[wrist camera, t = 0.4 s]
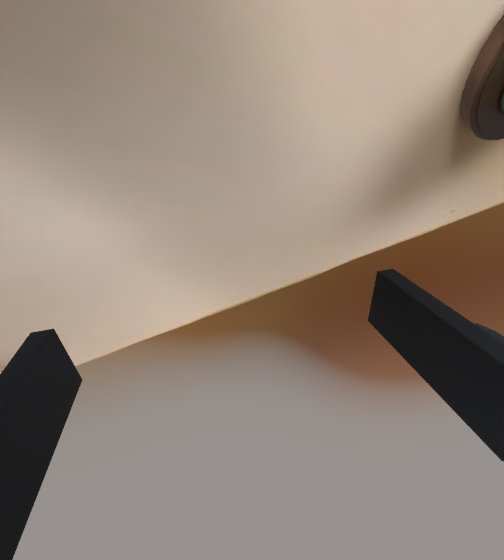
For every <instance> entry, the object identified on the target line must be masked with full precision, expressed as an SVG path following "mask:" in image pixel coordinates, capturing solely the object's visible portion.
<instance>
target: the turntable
mask: <svg viewBox="0 0 504 560" xmlns="http://www.w3.org/2000/svg"><path fill="white" fill-rule="evenodd" d="M503 91H504V16H503V17H502V19H501V20H500V22H499V23H498V25H497V26H496V28H495V29H494V30H493V32H492V34H491V35H490V37H489V39H488V40H487V42H486V44H485V45H484V47H483V48H482V50H481V52H480V54H479V56H478V58H477V60H476V62H475V64H474V65H473V68H472V70H471V72H470V75H469V77H468V79H467V82H466V85H465V88H464V92H463V96H462V101H461V116H462V120H463V122H464V124H465V126H466V127H467V128H468V129H469V130H470V131H472V132H473V133H474V134H475V135H476V136H477V137H479V138H481V139H485V140H500V139H504V115H503V113H502V110H501V99H502V95H503Z"/></svg>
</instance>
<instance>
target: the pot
mask: <svg viewBox="0 0 504 560" xmlns="http://www.w3.org/2000/svg"><path fill="white" fill-rule="evenodd" d="M501 110H502V113H503V115H504V91H503V95H502V99H501Z"/></svg>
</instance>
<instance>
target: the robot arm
mask: <svg viewBox="0 0 504 560" xmlns="http://www.w3.org/2000/svg"><path fill="white" fill-rule="evenodd" d="M368 321H369V322H370V323H371V324H372V325H373V326H374V327H375V328H376V329H377V331H378V332H379V333H380V334H381V335H382V336H383V337H384V338H385V339H386V340H387V341H388V342H389V343H390V344H391V345H392V346H393V347H394V348H395V349H396V351H397V352H398V353H399V354H400V355H401V356H402V357H403V358H404V359H405V360H406V361H407V362H408V363H409V364H410V365H411V366H412V367H413V368H414V369H415V370H416V371H417V372H418V374H419V375H420V376H421V377H422V378H423V379H424V380H425V381H426V382H427V383H428V384H429V385H430V386H431V387H432V388H433V389H434V390H435V391H436V392H437V393H438V395H440V396H441V398H442V399H443V400H444V401H445V402H446V403H447V404H448V405H449V406H450V407H451V408H452V409H453V410H454V411H455V412H456V413H457V414H458V415H459V416H460V417H461V419H462V420H463V421H464V422H465V423H466V424H467V425H468V426H469V427H470V428H471V429H472V430H473V431H474V432H475V433H476V434H477V435H478V436H479V437H480V439H482V441H483V442H484V443H485V444H486V445H487V446H488V447H489V448H490V449H491V450H492V451H493V452H494V453H495V454H496V455H497V456H498V457H499V458H500V459H501V461H504V337H503V336H502V335H500V334H499V333H497V332H496V331H494V330H491V329H489V328H487V327H484V326H482V325H479V324H473V323H472V322H470V321H469V320H467V319H466V318H465V317H463V316H462V315H460V314H459V313H457V312H456V311H454V310H453V309H451V308H450V307H448V306H447V305H445V304H444V303H442V302H441V301H440V300H438V299H437V298H435V297H434V296H432V295H431V294H429V293H428V292H426V291H425V290H423V289H422V288H420V287H419V286H417V285H416V284H415V283H413V282H412V281H410V280H408V279H407V278H406V277H404V276H403V275H401V274H400V273H398V272H397V271H395V270H394V269H389V270H383V271H378V272H377V276H376V281H375V287H374V291H373V297H372V302H371V307H370V312H369V318H368ZM81 382H82V379H81V377H80V375H79V373H78V371H77V370H76V368H75V366H74V364H73V362H72V360H71V359H70V357H69V355H68V353H67V351H66V350H65V348H64V346H63V344H62V343H61V341H60V339H59V337H58V335H57V334H56V332H55V330H54V329H50V330H44V331H38V332H33V333H30V335H29V336H28V337H27V339H26V340H25V341H24V343H23V344H22V346H21V347H20V348H19V350H18V351H17V352H16V354H15V355H14V357H13V358H12V359H11V361H10V362H9V363H8V365H7V366H6V368H5V369H4V370H3V372H2V373H1V374H0V560H12V559H13V556H14V554H15V551H16V548H17V546H18V543H19V541H20V538H21V536H22V533H23V531H24V528H25V525H26V523H27V520H28V517H29V515H30V512H31V510H32V507H33V505H34V502H35V500H36V497H37V495H38V492H39V489H40V487H41V484H42V482H43V479H44V477H45V474H46V471H47V469H48V466H49V464H50V461H51V459H52V456H53V453H54V451H55V448H56V446H57V443H58V441H59V438H60V435H61V433H62V430H63V428H64V425H65V423H66V420H67V418H68V415H69V412H70V410H71V407H72V405H73V402H74V400H75V397H76V394H77V392H78V389H79V387H80V384H81Z"/></svg>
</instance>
